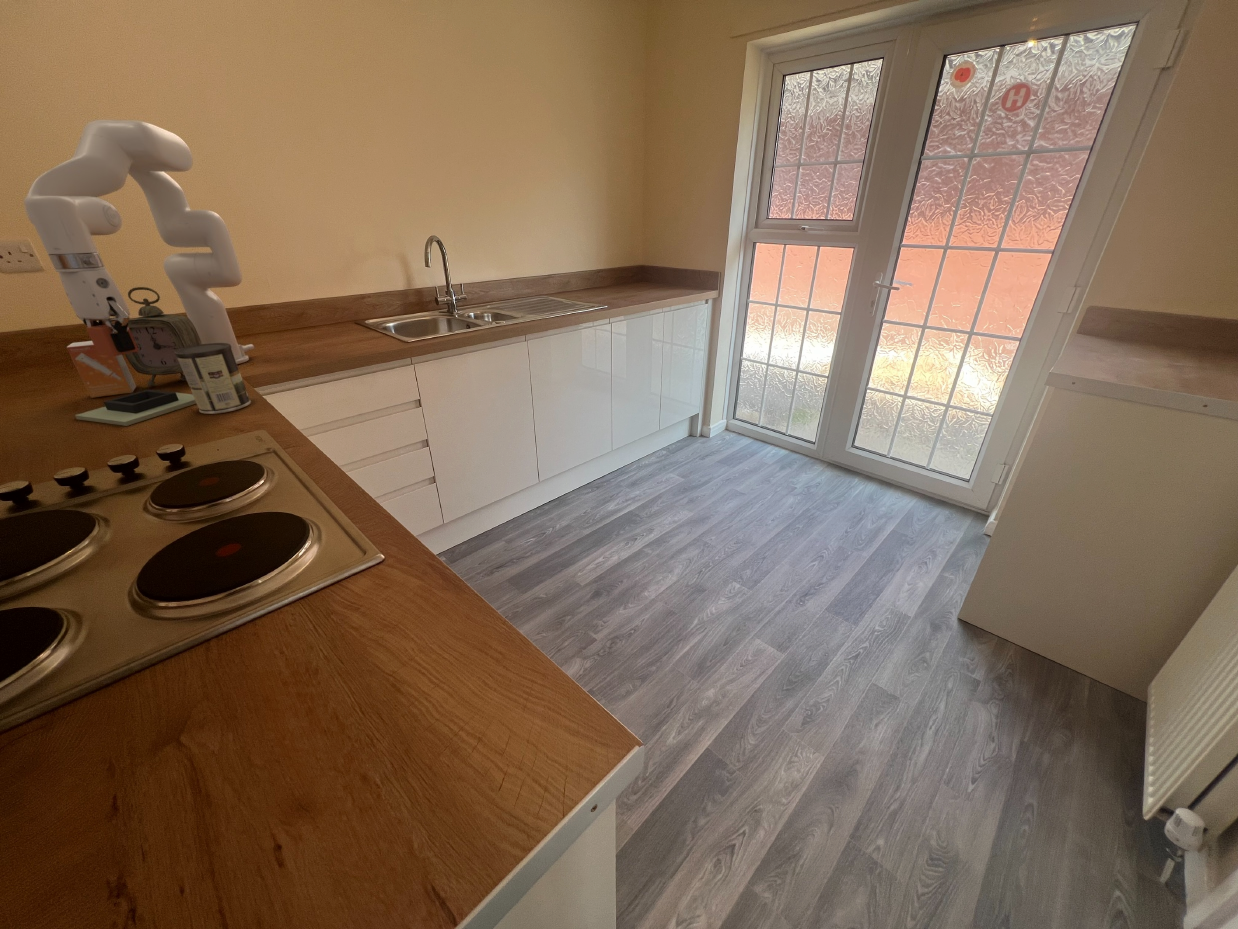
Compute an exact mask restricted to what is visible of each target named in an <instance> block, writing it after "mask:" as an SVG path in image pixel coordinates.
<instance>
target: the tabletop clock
mask: <svg viewBox="0 0 1238 929" xmlns="http://www.w3.org/2000/svg"><path fill="white" fill-rule="evenodd" d="M135 291H149V292H152V293H153V294H155V295H156V296H157V298H156V299H155V300H151V301H149V299H148V298H146V297H145V298H142V301H139V300H136V299H133V298H132V294H133V293H134V292H135ZM127 297H128V298H129V300H130V301H131V302H133V303H135V304H138V305H143V306H141V307H140V308H139V309H138V317H134V318H130V319H129V321H128V327H129V329H130V331H131V334H132V336H133V338H134V340H135V343H136V345H137V347H138V349H139V351H137V352H132V353H127V354H124V355H125V357H126V359H127V362H128V364H130V365H131V367H132V368H133V369H134V371H135V372H136V373H137V374H142V375H146V376H151V379H150V380H148V381H147V383H146V384H147V386H149V387H155V386H156V382H155V379H156V377H157V376H169V375H176V374H179V375H180V376H179V378H180V380H181V381H184V382H185V381H186V382H187V380H186V377H185V375H184V373H183V370H182V368H181V365H180V363H179V361H178V358H177V356H176V355H175V353H174V352H175V351H176V350H178V349H181V348H184V347H189V346H194V345H201V344H202V343H201V340H200V337H199V335H198V333H197V330H196V328H195V326H194V325H193V323H192V322H191V321H190V319H189V318H188V317H187V316H185V315H182V314H171V313H170V314H168V313H166V314H165V312H164V311H163V309H161V308H160V307H158V306H156V305H154V304H156V303H158V302H159V301H160V300H161V296H160V294H159V293H158V292H157V291H156V290H155V289H153V288H150V287H146V286H136V287H132V288H131V289H129V290H128V292H127Z"/></svg>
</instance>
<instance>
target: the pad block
mask: <svg viewBox="0 0 1238 929" xmlns="http://www.w3.org/2000/svg"><path fill="white" fill-rule="evenodd" d="M112 323H113V322H112ZM113 325H115V322H114V323H113ZM128 328H129V327H128ZM85 329H86V331H87V334H88V336H89V338H90V341H92V342H93V344H94V346H95V348H96V350H97V352H98V355H105V356H118V355H122V356H123V355H125V354H127V353H132V352H137V351H139V349H138V347H137V345H136V343H135V340H134V338H133V336H132V334H131V331H130V329H129V334H130V337H131V339H132V341H133V343H134V346H135V350H130V351H126V352H118V351H117V349H116V346H115V344H114V342H113V340H112V338H111V335H110V334H113V333H112V332H111V331H110V329H109V328H108V326H107V325H106V324H105V325H99V326H92V327H87V326H86V327H85Z"/></svg>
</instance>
